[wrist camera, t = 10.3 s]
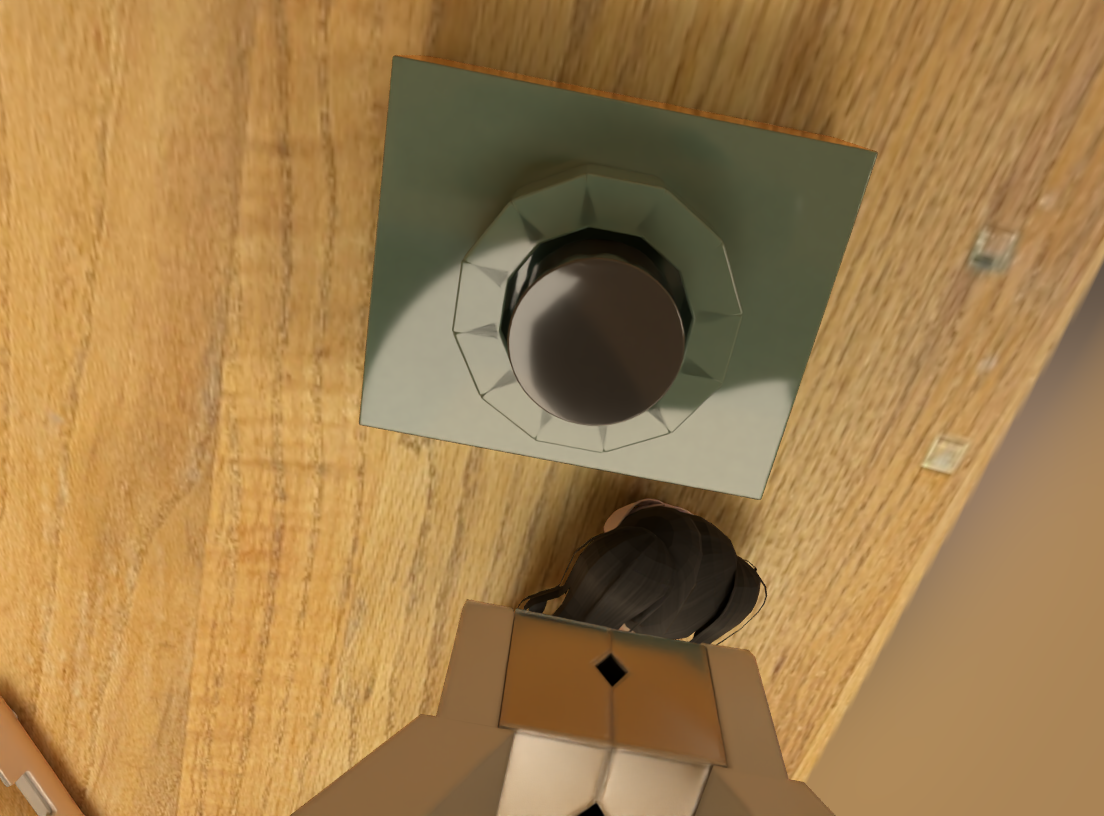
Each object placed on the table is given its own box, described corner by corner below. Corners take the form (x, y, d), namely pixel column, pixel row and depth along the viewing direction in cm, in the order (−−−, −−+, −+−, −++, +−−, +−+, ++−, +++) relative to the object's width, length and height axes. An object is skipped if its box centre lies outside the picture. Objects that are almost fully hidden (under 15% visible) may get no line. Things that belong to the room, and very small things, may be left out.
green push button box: (834, 136, 23) (908, 161, 18) (739, 440, 27) (775, 538, 22) (425, 55, 23) (370, 54, 17) (390, 375, 27) (337, 457, 21)
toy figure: (578, 783, 34) (784, 536, 28) (552, 925, 29) (803, 655, 22) (434, 702, 34) (608, 435, 28) (378, 829, 28) (582, 528, 22)
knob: (694, 255, 19) (705, 277, 17) (655, 406, 21) (661, 440, 19) (530, 223, 19) (522, 241, 17) (503, 377, 21) (494, 409, 19)
